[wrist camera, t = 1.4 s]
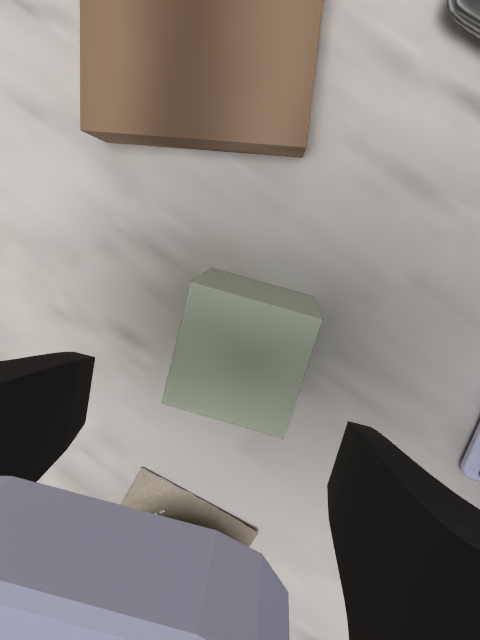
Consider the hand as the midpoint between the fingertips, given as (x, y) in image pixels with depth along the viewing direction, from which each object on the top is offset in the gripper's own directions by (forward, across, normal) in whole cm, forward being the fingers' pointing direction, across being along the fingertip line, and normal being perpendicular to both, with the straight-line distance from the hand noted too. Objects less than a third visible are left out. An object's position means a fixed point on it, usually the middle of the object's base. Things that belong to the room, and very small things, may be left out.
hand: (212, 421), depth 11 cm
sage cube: (+10, 0, 0) cm, 10 cm away
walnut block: (+10, +4, -12) cm, 16 cm away
